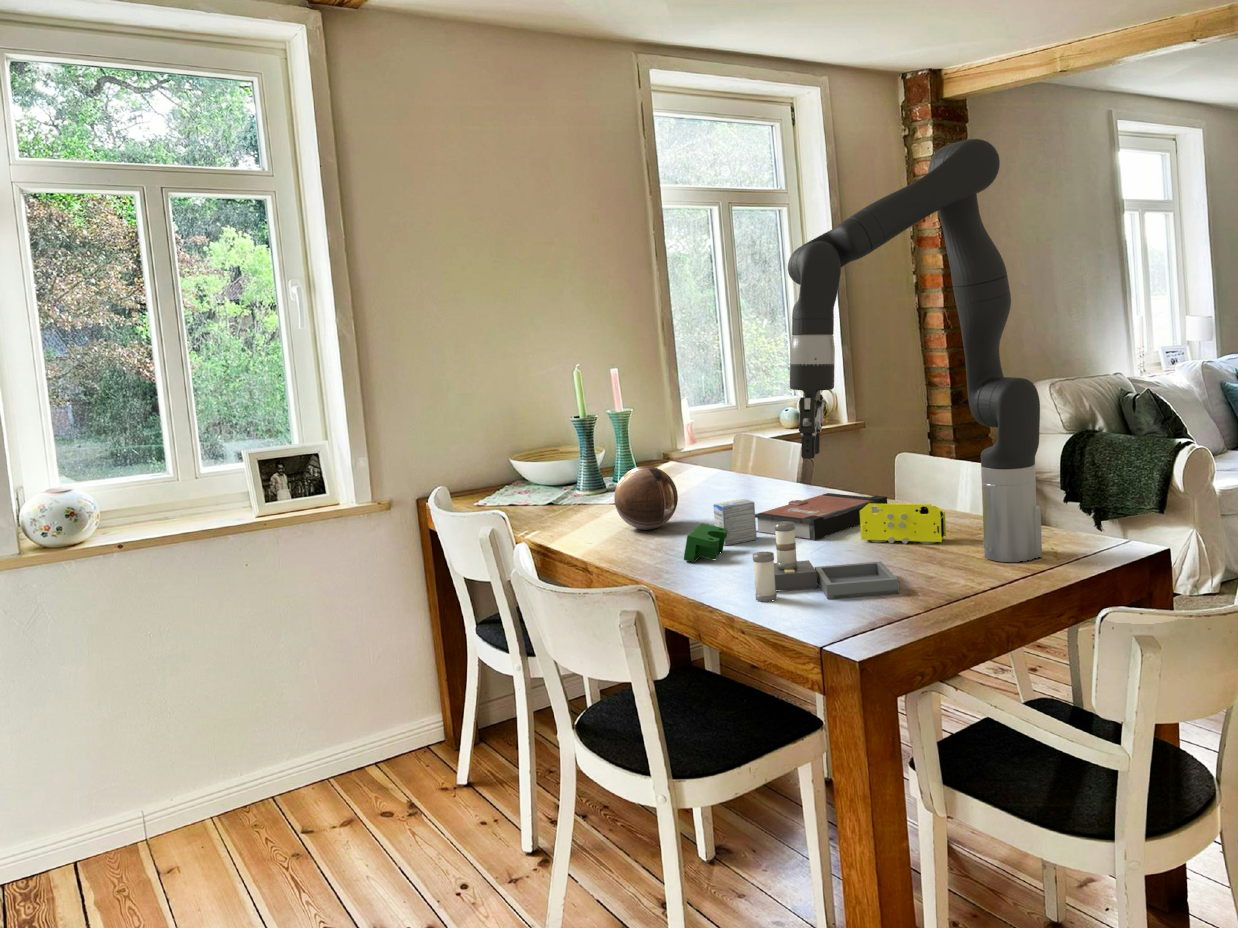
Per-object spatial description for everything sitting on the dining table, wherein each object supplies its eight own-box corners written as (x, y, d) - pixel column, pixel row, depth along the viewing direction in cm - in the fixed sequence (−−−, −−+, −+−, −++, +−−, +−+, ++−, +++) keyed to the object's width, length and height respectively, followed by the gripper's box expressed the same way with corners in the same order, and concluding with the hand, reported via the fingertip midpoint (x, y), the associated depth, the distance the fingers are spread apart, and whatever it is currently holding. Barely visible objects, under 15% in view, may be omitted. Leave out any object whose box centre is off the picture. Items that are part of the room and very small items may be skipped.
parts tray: (881, 574, 178) (880, 561, 178) (898, 593, 167) (898, 579, 166) (815, 580, 179) (814, 566, 179) (827, 599, 167) (826, 584, 167)
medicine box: (747, 536, 217) (744, 498, 216) (757, 540, 213) (754, 501, 212) (715, 542, 215) (712, 503, 213) (725, 546, 210) (722, 506, 209)
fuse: (775, 595, 172) (772, 550, 171) (778, 601, 169) (775, 555, 167) (754, 596, 172) (751, 552, 171) (757, 602, 169) (753, 557, 167)
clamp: (711, 582, 200) (713, 547, 195) (683, 574, 202) (684, 540, 197) (727, 546, 209) (730, 512, 204) (700, 539, 211) (702, 506, 206)
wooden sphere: (607, 529, 238) (601, 468, 236) (661, 518, 244) (656, 459, 242) (634, 539, 225) (628, 474, 222) (691, 528, 231) (686, 465, 228)
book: (826, 511, 238) (825, 490, 237) (888, 518, 225) (887, 496, 224) (753, 533, 221) (751, 512, 221) (815, 542, 208) (813, 519, 207)
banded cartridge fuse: (795, 563, 179) (792, 520, 178) (798, 568, 176) (796, 524, 175) (776, 565, 179) (773, 522, 178) (778, 570, 176) (775, 526, 175)
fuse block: (809, 576, 182) (808, 559, 181) (817, 587, 174) (816, 570, 174) (760, 580, 182) (759, 563, 182) (766, 592, 174) (765, 574, 174)
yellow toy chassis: (860, 543, 202) (858, 504, 201) (867, 537, 207) (865, 498, 206) (941, 546, 195) (939, 505, 194) (946, 539, 200) (944, 499, 198)
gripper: (831, 362, 161) (829, 461, 163) (837, 361, 174) (836, 452, 176) (784, 362, 163) (783, 459, 165) (794, 361, 176) (793, 451, 178)
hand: (810, 456), depth 170 cm, fingers open, 8 cm apart
